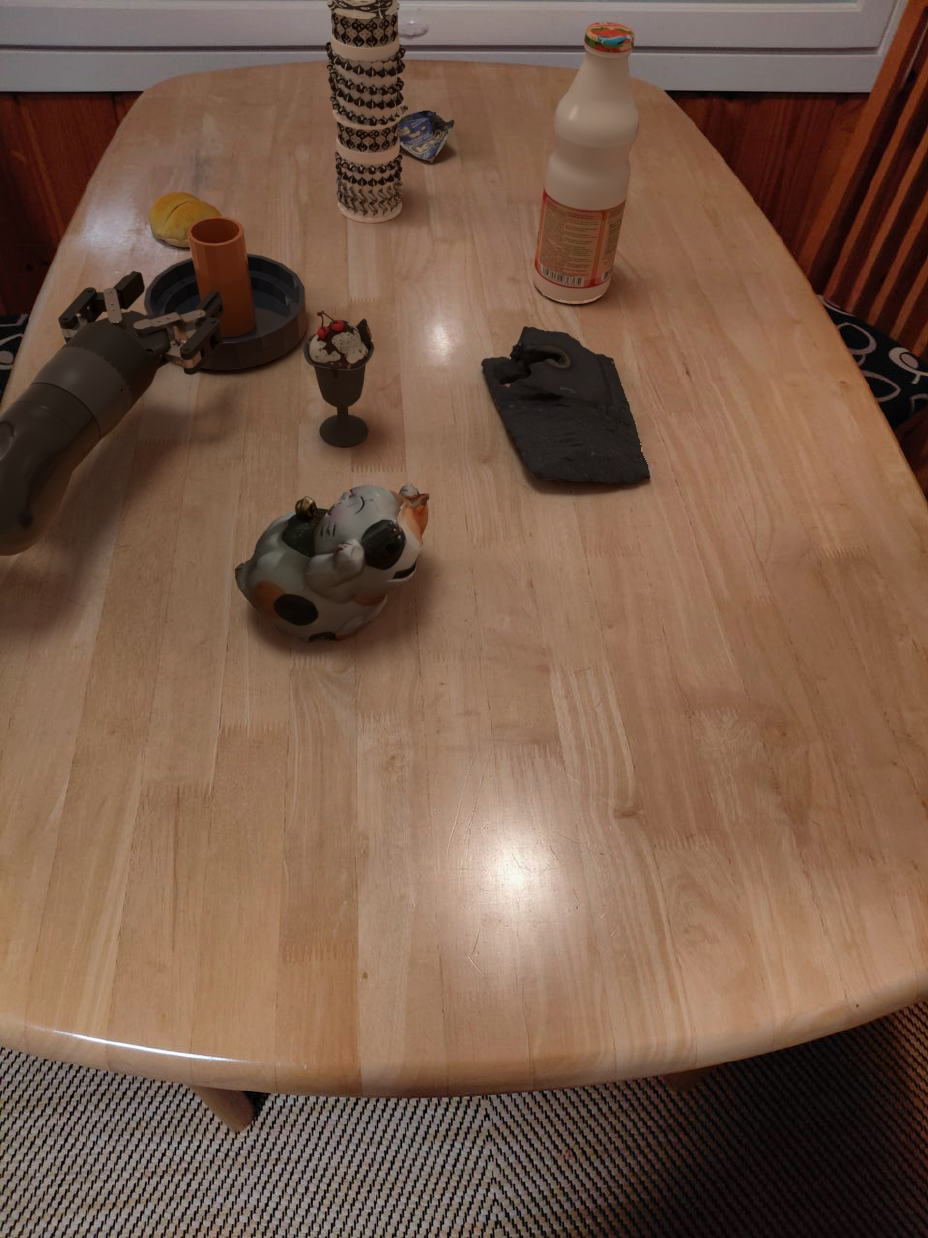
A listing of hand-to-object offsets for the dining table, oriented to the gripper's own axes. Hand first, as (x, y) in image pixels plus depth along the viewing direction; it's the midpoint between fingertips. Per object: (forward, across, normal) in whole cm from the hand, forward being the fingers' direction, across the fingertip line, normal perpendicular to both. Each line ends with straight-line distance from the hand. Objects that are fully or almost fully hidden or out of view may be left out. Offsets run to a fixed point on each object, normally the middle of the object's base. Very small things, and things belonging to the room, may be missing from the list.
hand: (178, 288), depth 93 cm
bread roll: (+24, +14, +10) cm, 30 cm away
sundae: (-4, -19, +10) cm, 21 cm away
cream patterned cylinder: (+39, -5, +10) cm, 40 cm away
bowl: (+8, 0, +10) cm, 13 cm away
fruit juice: (+31, -34, +10) cm, 47 cm away
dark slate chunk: (+6, -40, +10) cm, 41 cm away
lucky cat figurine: (-23, -26, +10) cm, 36 cm away
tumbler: (+8, 0, +9) cm, 12 cm away
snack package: (+58, -5, +10) cm, 59 cm away
